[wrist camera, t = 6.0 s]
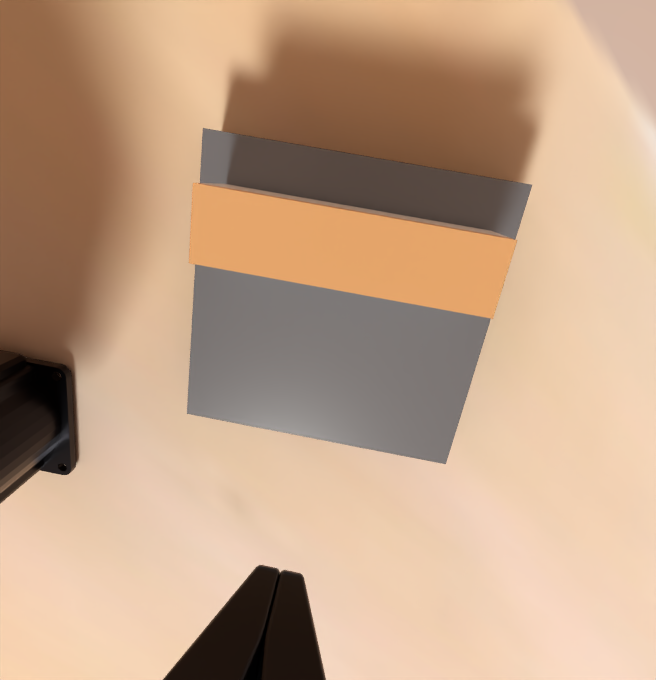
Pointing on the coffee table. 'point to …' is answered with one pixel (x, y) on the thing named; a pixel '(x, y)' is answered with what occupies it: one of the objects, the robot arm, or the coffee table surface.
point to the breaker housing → (340, 311)
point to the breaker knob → (349, 248)
